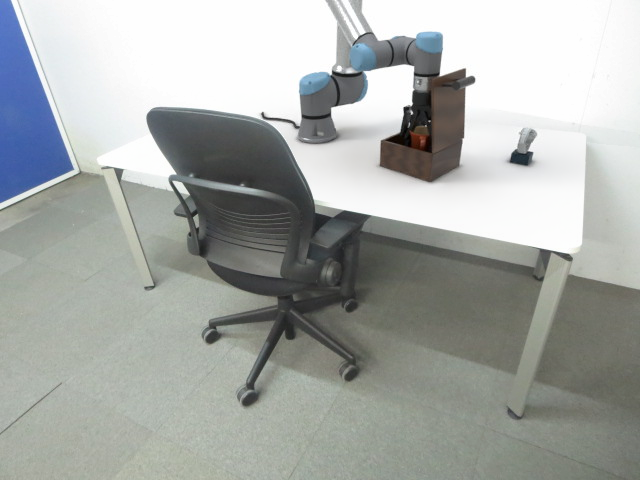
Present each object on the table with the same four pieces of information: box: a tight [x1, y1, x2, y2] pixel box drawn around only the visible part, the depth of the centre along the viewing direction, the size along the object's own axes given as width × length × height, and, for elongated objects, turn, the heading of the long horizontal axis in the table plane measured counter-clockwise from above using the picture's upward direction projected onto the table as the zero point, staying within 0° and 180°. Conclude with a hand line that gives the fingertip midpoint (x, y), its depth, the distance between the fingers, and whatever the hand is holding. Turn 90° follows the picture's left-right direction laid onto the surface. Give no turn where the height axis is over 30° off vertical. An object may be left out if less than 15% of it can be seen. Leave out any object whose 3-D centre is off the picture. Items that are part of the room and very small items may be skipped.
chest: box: [379, 131, 464, 183], centre depth 137 cm, size 20×17×9 cm
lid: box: [431, 67, 476, 153], centre depth 122 cm, size 21×17×6 cm
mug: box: [410, 125, 431, 153], centre depth 136 cm, size 12×9×10 cm
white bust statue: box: [509, 126, 538, 167], centre depth 136 cm, size 6×8×11 cm
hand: (419, 161), depth 139 cm, fingers closed on mug, 8 cm apart
